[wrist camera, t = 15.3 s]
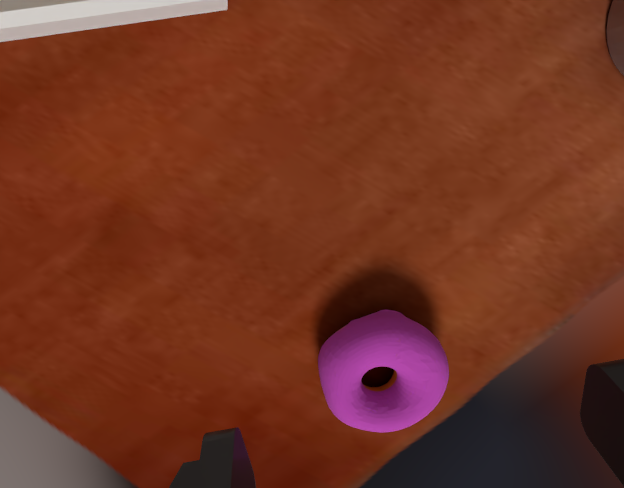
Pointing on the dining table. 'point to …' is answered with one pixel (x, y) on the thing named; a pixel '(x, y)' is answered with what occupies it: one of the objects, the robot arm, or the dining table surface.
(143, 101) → the dining table surface
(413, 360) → the donut
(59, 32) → the tray
